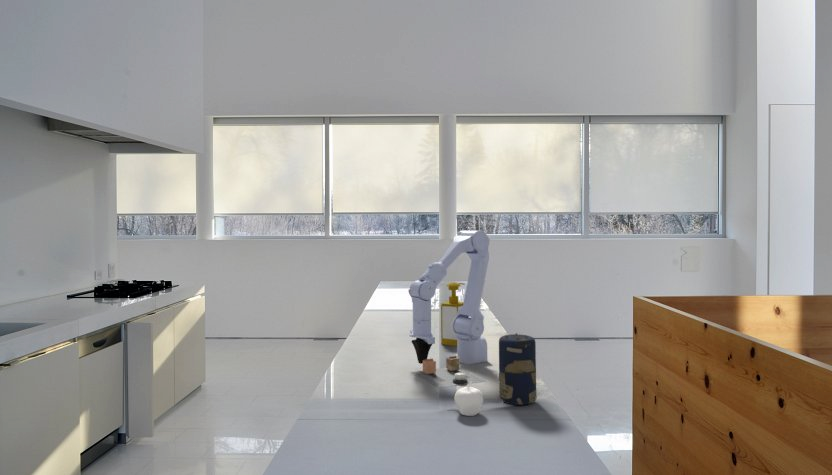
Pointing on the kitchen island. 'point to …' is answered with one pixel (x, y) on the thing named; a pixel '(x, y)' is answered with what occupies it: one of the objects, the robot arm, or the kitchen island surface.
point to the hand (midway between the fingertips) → (422, 362)
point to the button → (459, 376)
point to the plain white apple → (469, 400)
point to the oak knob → (452, 363)
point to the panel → (447, 377)
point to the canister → (517, 369)
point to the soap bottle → (450, 316)
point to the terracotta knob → (429, 366)
